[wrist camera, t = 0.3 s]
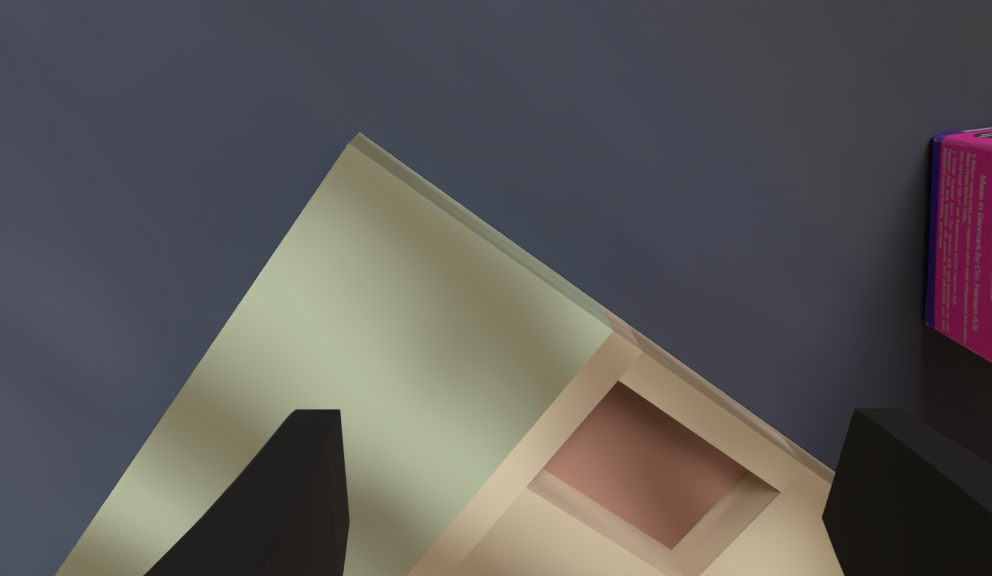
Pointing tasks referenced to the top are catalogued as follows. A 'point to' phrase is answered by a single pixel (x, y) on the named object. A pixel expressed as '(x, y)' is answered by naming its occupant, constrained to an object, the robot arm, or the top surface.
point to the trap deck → (467, 412)
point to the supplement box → (961, 239)
